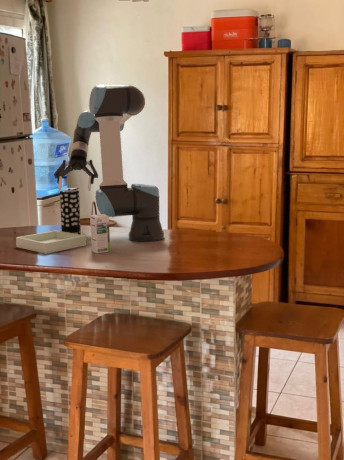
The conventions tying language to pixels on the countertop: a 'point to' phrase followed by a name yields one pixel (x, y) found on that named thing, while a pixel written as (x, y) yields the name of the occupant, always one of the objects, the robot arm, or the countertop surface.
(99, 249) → the syrup box
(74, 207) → the spotted tube
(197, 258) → the countertop surface
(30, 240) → the tray
